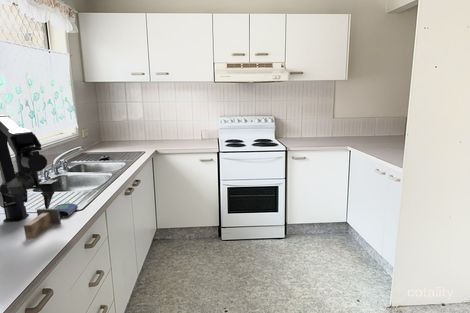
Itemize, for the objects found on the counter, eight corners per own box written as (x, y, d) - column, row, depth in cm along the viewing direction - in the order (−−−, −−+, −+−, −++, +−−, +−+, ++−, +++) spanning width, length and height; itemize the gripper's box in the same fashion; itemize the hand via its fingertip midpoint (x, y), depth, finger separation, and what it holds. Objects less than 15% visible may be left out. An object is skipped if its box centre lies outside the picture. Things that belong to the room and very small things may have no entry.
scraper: (40, 238, 111) (38, 222, 110) (18, 238, 112) (15, 223, 110) (60, 222, 124) (58, 208, 123) (40, 223, 124) (38, 208, 123)
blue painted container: (68, 217, 129) (80, 207, 139) (67, 210, 128) (79, 201, 139) (45, 218, 129) (58, 208, 139) (44, 211, 128) (57, 201, 138)
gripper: (-18, 174, 103) (-8, 219, 107) (39, 172, 103) (47, 217, 106) (7, 165, 114) (14, 206, 117) (58, 164, 114) (64, 205, 117)
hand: (34, 209), depth 114 cm, fingers open, 9 cm apart
